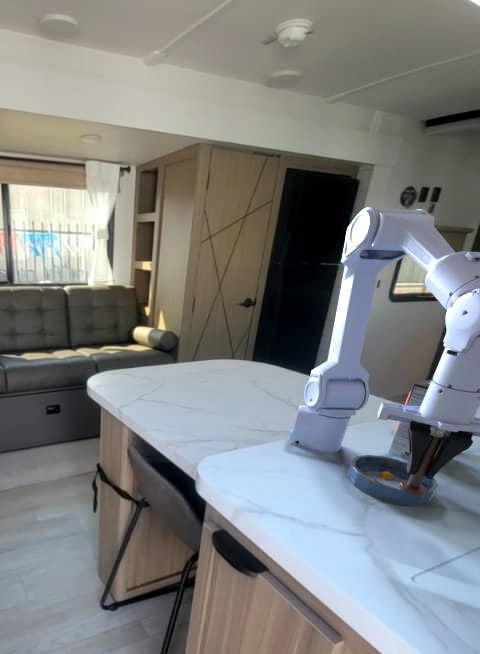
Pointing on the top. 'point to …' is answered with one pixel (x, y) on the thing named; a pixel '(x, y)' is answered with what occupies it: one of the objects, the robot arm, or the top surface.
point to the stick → (422, 468)
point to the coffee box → (401, 436)
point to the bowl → (382, 490)
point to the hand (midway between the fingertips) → (418, 473)
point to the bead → (386, 475)
